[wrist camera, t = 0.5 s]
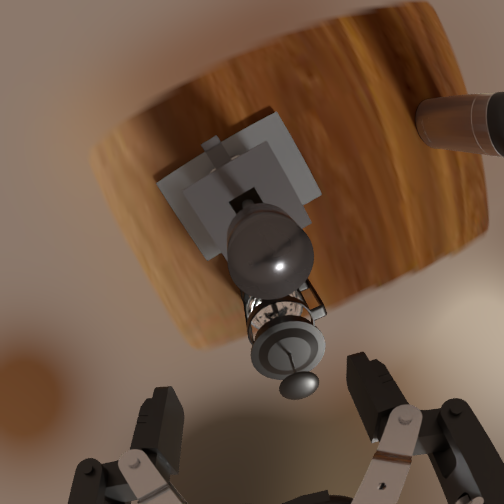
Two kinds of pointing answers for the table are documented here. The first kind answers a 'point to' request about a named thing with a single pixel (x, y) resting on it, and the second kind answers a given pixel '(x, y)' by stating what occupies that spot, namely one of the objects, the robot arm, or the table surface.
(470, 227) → the table surface
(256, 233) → the plunger
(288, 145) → the slate board
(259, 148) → the carafe
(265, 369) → the french press
